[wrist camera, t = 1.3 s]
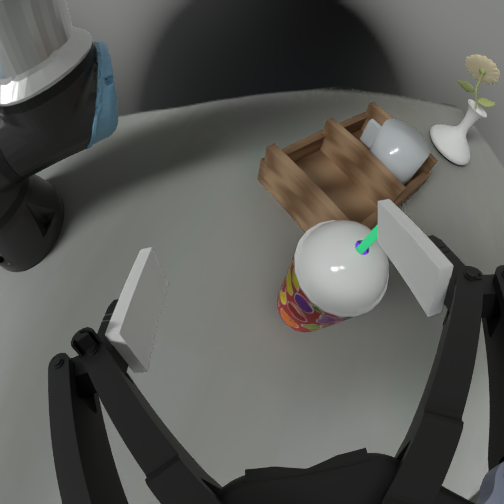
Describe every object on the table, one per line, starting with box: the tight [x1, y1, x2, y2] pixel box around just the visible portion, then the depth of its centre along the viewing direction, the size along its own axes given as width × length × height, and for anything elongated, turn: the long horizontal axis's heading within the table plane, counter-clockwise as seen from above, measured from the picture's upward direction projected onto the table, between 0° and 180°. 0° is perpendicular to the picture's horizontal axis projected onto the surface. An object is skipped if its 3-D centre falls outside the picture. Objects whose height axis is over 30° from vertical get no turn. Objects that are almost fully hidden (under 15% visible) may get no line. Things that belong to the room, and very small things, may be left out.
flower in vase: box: [430, 54, 500, 165], centre depth 41 cm, size 13×11×25 cm
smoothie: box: [277, 220, 389, 332], centre depth 27 cm, size 8×8×20 cm
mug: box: [360, 119, 430, 186], centre depth 40 cm, size 10×8×9 cm
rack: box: [258, 102, 438, 232], centre depth 41 cm, size 16×24×8 cm, turn 127°
